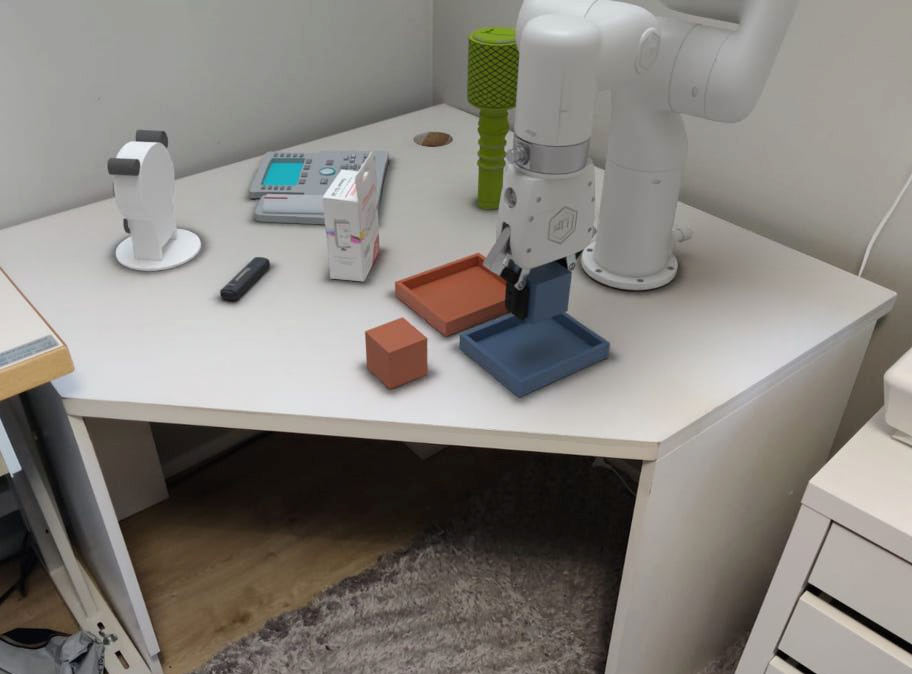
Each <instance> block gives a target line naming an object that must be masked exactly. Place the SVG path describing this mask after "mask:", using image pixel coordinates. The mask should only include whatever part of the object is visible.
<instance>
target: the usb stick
mask: <svg viewBox="0 0 912 674" xmlns="http://www.w3.org/2000/svg"><path fill="white" fill-rule="evenodd" d="M270 266H271V263H270V260H269V258H267V257H263V256H255V257H253V258H252V259H251V260H250V261H249V263H247V264H246V265H245V266H244V267H243V268H242V269H241V270H240V271H239V272H238V273H237V274H236V275H235V276H234V277H232V279H230V280H229V282H228V283H226V284H225V285H224V286H223V287H222V288H221V289H220V291H219V295H220V297H221V298H222V299H224V300H230V301H235V300H237V299H238V298H240V297H241V295H242V294H243V293H244V292H246V290H248V288H249V287H250V286H252V284H254V282H255V281H257V280H258V279H259V277H260V276H262V275H263V274H264V272H266V271H267V270H268V269H269V267H270Z"/></svg>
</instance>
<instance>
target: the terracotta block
mask: <svg viewBox="0 0 912 674" xmlns="http://www.w3.org/2000/svg"><path fill="white" fill-rule="evenodd" d="M364 339H365V340H364V341H365V356H366V357H365V358H366V359H365V360H366V368H367V369H368V370H369V371H370V372H371V373H372V374H373V375H374V376H375V377H377V378H378V380H380V382H381V383H383V384H384V385H385V386H386V387H387V388H388V389H389V390H393V389H395V388H398V387H400V386H403V385H405V384H408V383H410V382H413V381H414V380H417V379H420V378H422V377H424V376H426V375H428V337H427V336H426V335H424V333H422V332H421V331H420V330H419V329H417V328H416V326H414V325H413V324H411V323H410V322H409V321H408V320H407V319H405V317H403V316H402V317H399V318H397V319H394V320H392V321H389V322H385V323H383V324H381V325H377V326H375V327H372V328H370V329H367V330H365V331H364Z"/></svg>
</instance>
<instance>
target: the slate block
mask: <svg viewBox="0 0 912 674" xmlns="http://www.w3.org/2000/svg"><path fill="white" fill-rule="evenodd" d="M518 270H519V266H518V265H517V264H516V267H515V270H514V272H515V273H516V274H517V273H518ZM572 275H573V271H569V270H568V269H566V268H565V267H563V266H562V265H560V264H558V263H557V262H555V261H552V262H549V263H546V264H544V265H541V266H538V267H535V268H531V270H530V273H529V276H528V279H527V282H526V285H525V286H527V287H528V288H529V300H528V311H527V317H526V320H527V321H528V322H530V323H531V324H536V323H538V322H541V321H544V320H546V319H549V318H551V317H554V316H556V315H559V314H561V313H564V312H566V313H567V312H568V309H569V300H570V294H571V293H570V292H571V283H572V277H573V276H572ZM505 293H506V292H505Z"/></svg>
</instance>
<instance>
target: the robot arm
mask: <svg viewBox="0 0 912 674" xmlns="http://www.w3.org/2000/svg"><path fill="white" fill-rule="evenodd" d="M658 1H659V2H660V3H661V4H662V5H663V6H665V8H668V9H670V10H672V11H676V12H679V13H682V14H686V15H690V16H695V17H699V18H705V19H711V20H716V21H720V22H726V23H732V24H736V25H738V27H737V28H736V29H735V30H732V29H727V28H721V27H716V26H710V25H706V24H702V23H698V22H693V21H688V20H682V19H677V18H671V17H664V16H655V15H654V14H653V13H651V12H650V11H649V10H647V9H646V8H644V7H642V6H639V5H636V4H633V3H629V2H623V1H618V0H523V1H522V4H521V6H520V9H519V12H518V17H517V20H516V25H515V30H516V45H517V49H518V51H519V53H520V54H519V68H518V82H517V97H516V107H515V113H514V115H515V116H514V125H513V126H514V127H513V140H512V141H513V142H512V148H510V149H507V151H505V152H506V157H505V159H506V161H507V162H508V163H509V164H508V165H507V169H506V172H505V175H504V178H503V187H502V192H501V197H500V203H499V208H498V210H497V211H498V212H497V218H496V227H495V228H496V230H495V242H494V244H493V245H492V247H491V249H490V250H489V252H488V254H487V255H486V256H485V257H486V258H485V260H484V262H483V266H484V267H486V268H487V269H489V270H490V271H492V272H493V273H495V274H497V275H499V276H500V277H501V278H502V279H504V280H505V281H506V293H505V308H506V310H508V311H509V312H508V313H510V314H513V315H515V316H516V317H517V318H519V319H520V320H523V319H526V317H527V311H528V300H529V288H528V287H527V286H525V285H526V282H527V279H528V276H529V273H530V270H531V268H535V267H538V266H541V265H544V264H546V263H549V262H552V261H555V262H557V263H558V264H560V265H562V266H563V267H565V268H566V269H568V270H569V271H571V272H573V271H574V270H575V269H576V267H577V260H578V259H579V257H580V256H581V257H580V263H581V267H582V269H583V271H584V272H585V273H586V274H587V275H588V276H589V277H590V278H592V279H593V280H594V281H597V282H599V283H601V284H603V285H605V286H608V287H611V288H616V289H620V290H628V291H645V290H647V291H648V290H652V289H656V288H659V287H663V286H665V285H668V283H670V282H671V281H672V280H674V279H675V277H676V275H677V271H678V266H679V265H678V260H677V257H676V256H675V255H674V253H673V249H674V248H676V247H677V245H678V244H679V243H683V242H686V241H689V240H691V239H692V238H693V235H694V232H693V229H692V228H691V226H689V225H683V226H680V227H677V228H676V229H674V230H673V228H674V223H675V218H676V212H677V208H678V202H679V198H680V197H679V196H680V191H681V188H682V187H681V186H682V181H683V177H684V176H683V175H684V171H685V165H686V159H687V154H688V148H689V142H688V141H689V140H688V139H689V138H688V132H687V129H686V125H685V122H684V119H683V117H682V114H683V115H688V116H691V117H695V118H700V119H704V120H708V121H711V122H717V123H723V124H736V123H739V122H742V121H743V120H745V119H746V118H747V117H748V116H749V115H750V114H752V112H753V110H754V109H755V107H756V105H757V104H758V102H759V100H760V98H761V96H762V93H763V91H764V89H765V86H766V84H767V82H768V79H769V77H770V75H771V72H772V69H773V67H774V65H775V62H776V60H777V57H778V54H779V52H780V49H781V47H782V45H783V42H784V40H785V37H786V35H787V33H788V30H789V28H790V25H791V23H792V21H793V18H794V15H795V13H796V10H797V8H798V5H799V2H800V0H658ZM607 90H610V97H611V98H610V99H611V101H610V103H611V105H610V125H609V132H608V133H609V134H608V142H607V148H606V149H607V150H606V156H605V157H606V158H605V165H604V166H605V167H604V172H603V173H604V174H603V181H602V188H601V197H600V203H599V211H598V217H597V218H598V220H597V227H595V226H594V225H595V212H596V174H595V166H594V161H593V159H592V158H591V157H590V156H589V155H590V148H591V141H592V134H593V133H592V132H593V124H594V117H595V108H596V100H597V94H598V93H599V92H603V91H607ZM594 237H595V241H593V242H592V239H593V238H594ZM504 261H505V262H504ZM516 264H517V265H518V266H519V270H518V273H517V274H516V273H515V272H514V270H515V267H516Z"/></svg>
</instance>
